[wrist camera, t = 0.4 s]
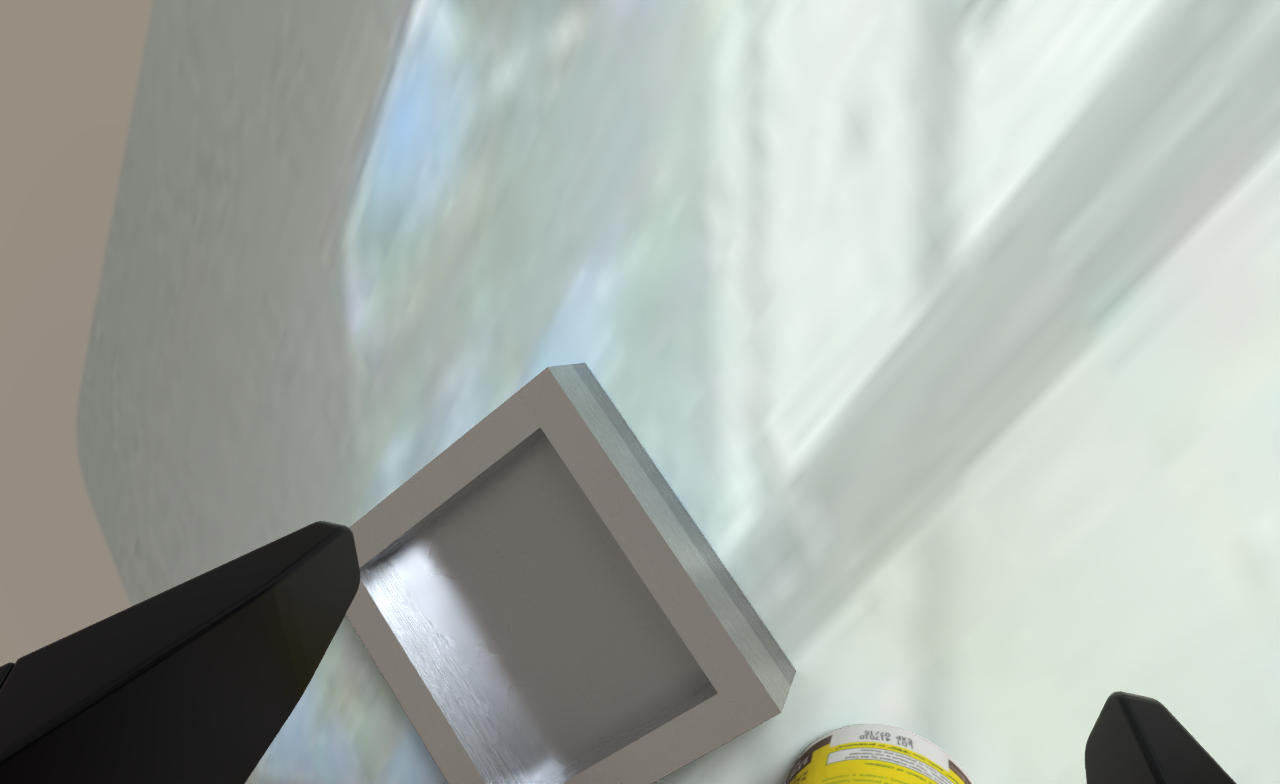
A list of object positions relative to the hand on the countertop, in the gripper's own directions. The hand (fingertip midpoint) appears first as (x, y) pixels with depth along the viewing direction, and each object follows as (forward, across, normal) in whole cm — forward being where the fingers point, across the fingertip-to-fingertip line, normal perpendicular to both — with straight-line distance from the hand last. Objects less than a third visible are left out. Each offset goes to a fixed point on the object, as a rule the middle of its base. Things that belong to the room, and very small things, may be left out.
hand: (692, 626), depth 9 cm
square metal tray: (+11, +6, +11) cm, 17 cm away
